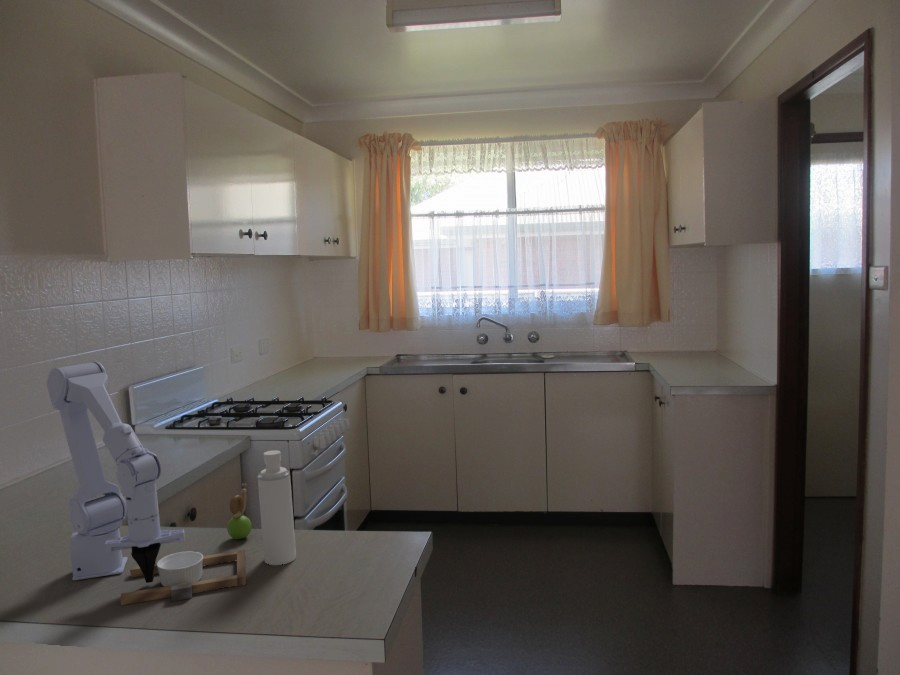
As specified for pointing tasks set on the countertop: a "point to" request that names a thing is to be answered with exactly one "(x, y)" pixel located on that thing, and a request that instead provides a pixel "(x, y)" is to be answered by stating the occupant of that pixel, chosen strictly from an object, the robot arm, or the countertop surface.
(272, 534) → the white bottle
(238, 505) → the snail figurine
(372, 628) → the countertop surface
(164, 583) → the ramekin
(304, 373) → the countertop surface
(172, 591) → the brown flat frame
